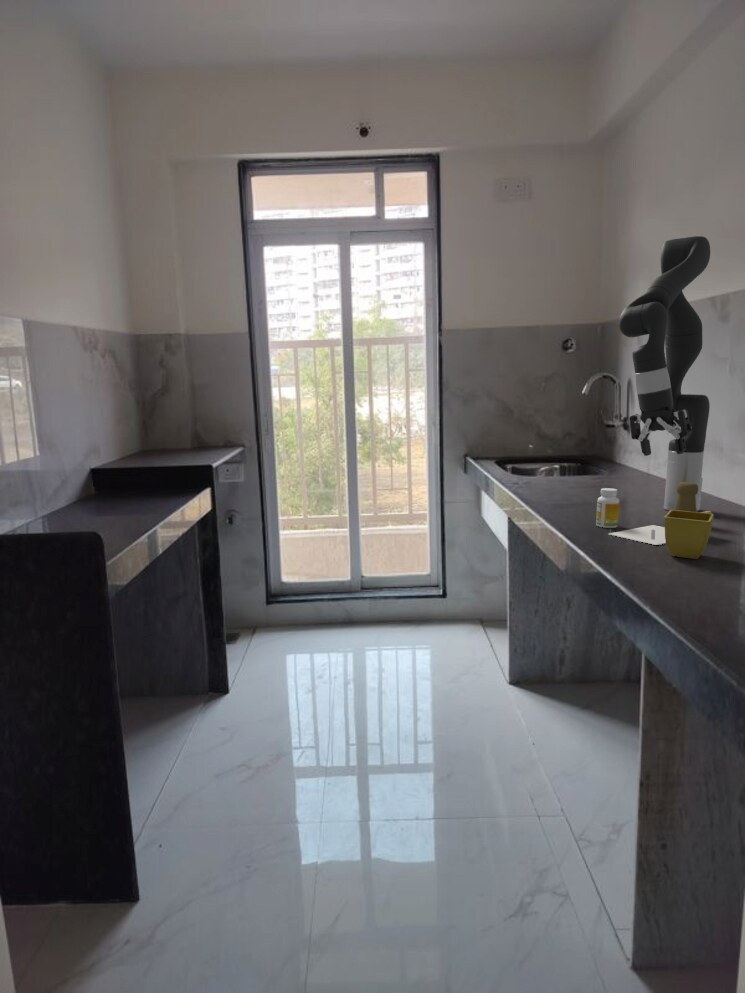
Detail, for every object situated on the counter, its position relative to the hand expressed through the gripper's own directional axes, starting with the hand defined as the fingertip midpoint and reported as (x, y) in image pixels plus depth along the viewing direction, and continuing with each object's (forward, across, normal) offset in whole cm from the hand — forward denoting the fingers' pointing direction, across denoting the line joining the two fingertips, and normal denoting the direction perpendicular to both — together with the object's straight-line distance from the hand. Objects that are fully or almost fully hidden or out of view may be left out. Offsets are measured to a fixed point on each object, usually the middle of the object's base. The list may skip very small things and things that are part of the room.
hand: (663, 454), depth 160 cm
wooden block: (+20, -6, +2) cm, 22 cm away
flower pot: (+18, -13, +20) cm, 30 cm away
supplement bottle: (+17, +14, +8) cm, 23 cm away
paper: (+18, +1, +8) cm, 20 cm away
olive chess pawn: (+22, +4, -11) cm, 25 cm away
